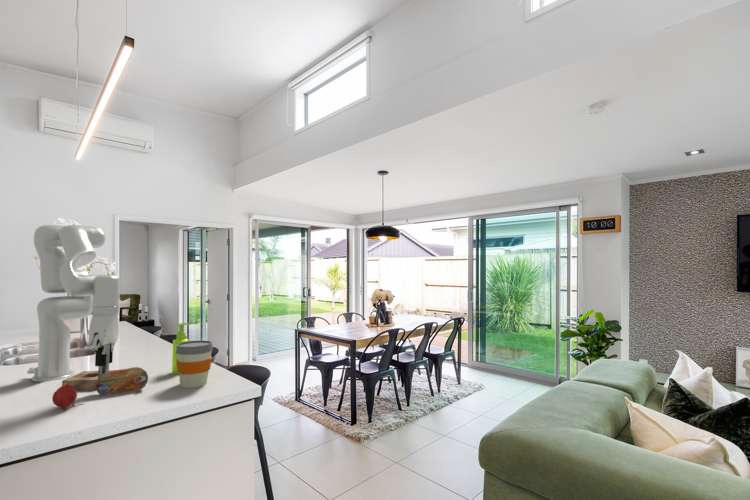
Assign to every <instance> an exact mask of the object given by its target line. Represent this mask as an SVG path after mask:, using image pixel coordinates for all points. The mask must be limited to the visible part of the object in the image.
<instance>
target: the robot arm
mask: <svg viewBox="0 0 750 500" xmlns="http://www.w3.org/2000/svg"><path fill="white" fill-rule="evenodd" d="M105 241H106V235H105V232H104V231H103V230H102V228H100V227H98V226H89V225H79V224H78V225H76V224H71V225H60V224H59V225H57V224H47V225H46V224H45V225H41V226H39V227H37V228H36V230H35V231H34V234H33V245H34V249H35V251H36V253H37V255H38V258H39V267H40V268H39V269H40V284H41V285H40V286H41V290H42V291H43V292H44V293H46V294H56V295H57V294H68V295H64V296H63V295H62V296H51V297H46V298H43V299H42V300H40V301H39V302H38V304H37V307H36V313H37V317H38V319H37V320H38V327H39V329H38V339H39V340H38V353H37V354H38V355H37V356H38V357H37V366H36V367H29V368H28V370H27V374H28V375H29V374H33V376H32V378H31V381H32V382H35V383H43V382H48V381H49V382H50V381H57V380H61V379H67V378H70V377H72V376H74V374H75V371H74V370H70V362H71V361H70V360H71V359H70V357H71V338H72V337H71V335H72V333H71V329H70V328H69V326H68V325H67V324H66V323H65V322H64V321H71V320H79V319H81V320H82V319H86V318H88V317H90V316H91V319H90V323H89V329H88V337H87V338H88V340H87V344H88V346H91V347H90V349H91V350H92V351H93V352H94V355H95V359H94V366H95V367H99V366H105V365H106V355H107V354H105V350H106V345H107V344H109V343H110V357H109V364H112V363H113V355H114V354H113V353H114V347H115V345H116V343H117V342H118V339H119V332H120V331H119V327H120V326H119V313H120V308H119V307H120V288H121V287H120V284H121V281H120V277H119V276H117V275H109V274H90V273H88V272H87V271H86V270H84V269H79V268H81V267H84V266H88V265H89V264H92V262H93V261H94V260H96V257H97V253H96V251H95V249H99V248H101V247H103V246H104V244H105ZM59 247H62V249H63V251H64V252H63V251H62V250H61V249H60V248H59ZM99 343H101V345H99ZM101 347H102V349H101Z"/></svg>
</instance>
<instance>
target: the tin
mask: <svg viewBox="0 0 750 500" xmlns="http://www.w3.org/2000/svg"><path fill="white" fill-rule="evenodd" d="M148 381H149V375H148V372H147V371H146V370H145V369H143V368H141V367H137V366H134V367H129V368H122V369H121V368H120V369H113V370H112V371H111V370H109V371H107V372H105V373H103V374H102V375H101V376H100V377H99V378H98V380H97V382H96V392H97V393H98V395H100V396H104V397H105V396H108V395H113V394H121V393H127V392H133V391H137V392H139V391H141V390H142V389H144V388H145V387H146V385H147V383H148Z"/></svg>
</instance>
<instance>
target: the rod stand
mask: <svg viewBox="0 0 750 500" xmlns="http://www.w3.org/2000/svg"><path fill="white" fill-rule="evenodd" d="M110 371H112V370H110ZM97 380H98V370H84V371H81V372H79V373H76V374H75V375H74V374H73V375H72V376H69V377H66V378H64V379H63V380H62V384H63V383H67V384H68V385H70V386H72V387H73V388H75V390H76V391H89V390H90V391H95V390H96V382H97ZM62 384H61V385H62ZM96 391H97V390H96Z"/></svg>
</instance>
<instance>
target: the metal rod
mask: <svg viewBox="0 0 750 500" xmlns="http://www.w3.org/2000/svg"><path fill="white" fill-rule="evenodd" d="M99 345H101V343H99ZM101 349H102V347H101ZM105 354H107V355H106V365H105V366H98V370H97V371H98V378H99V377H100V376H101V375H102V374H103V373H105V372H107V371H110V363H109V357H110V343H109V344H107V345H106V350H105Z"/></svg>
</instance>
